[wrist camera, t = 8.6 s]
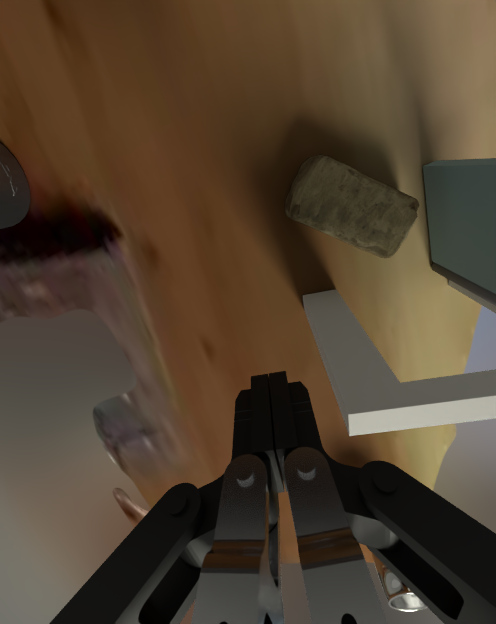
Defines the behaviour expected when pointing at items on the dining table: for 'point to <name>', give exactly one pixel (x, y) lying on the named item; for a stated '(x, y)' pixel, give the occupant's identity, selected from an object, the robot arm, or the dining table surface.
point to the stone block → (350, 206)
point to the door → (463, 222)
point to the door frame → (390, 376)
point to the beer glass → (397, 590)
